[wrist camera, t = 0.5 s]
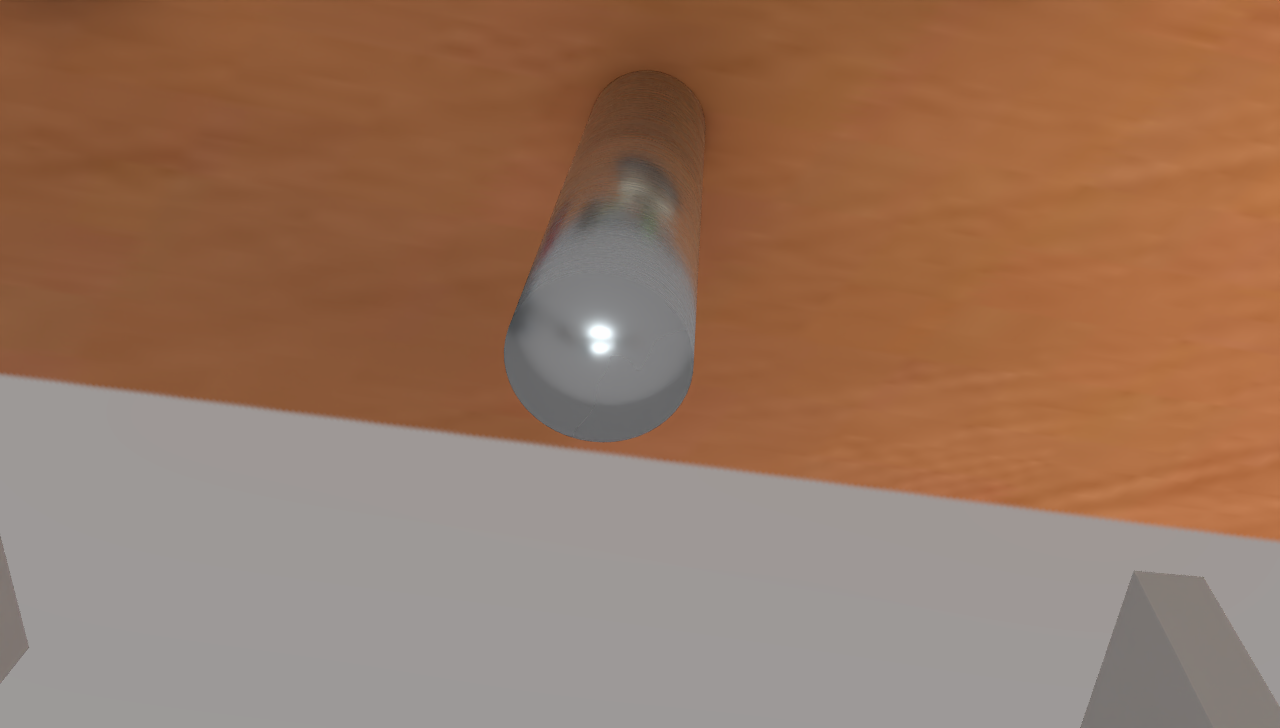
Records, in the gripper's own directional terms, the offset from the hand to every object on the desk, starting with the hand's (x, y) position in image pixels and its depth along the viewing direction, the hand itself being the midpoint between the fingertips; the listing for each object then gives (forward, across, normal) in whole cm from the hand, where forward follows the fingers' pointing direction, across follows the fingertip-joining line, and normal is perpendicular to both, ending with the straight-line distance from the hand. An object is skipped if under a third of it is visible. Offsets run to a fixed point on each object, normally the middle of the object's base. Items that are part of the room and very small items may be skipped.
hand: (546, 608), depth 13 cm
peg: (+23, 0, -1) cm, 23 cm away
